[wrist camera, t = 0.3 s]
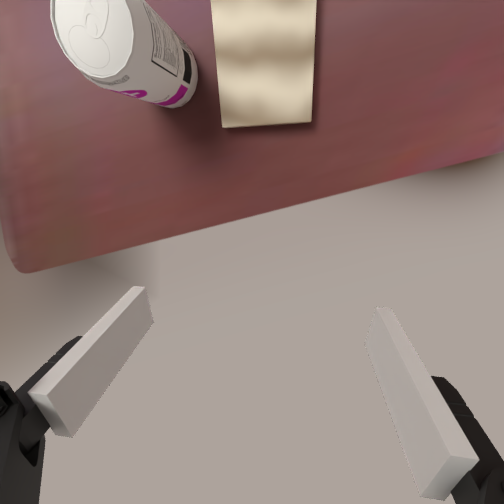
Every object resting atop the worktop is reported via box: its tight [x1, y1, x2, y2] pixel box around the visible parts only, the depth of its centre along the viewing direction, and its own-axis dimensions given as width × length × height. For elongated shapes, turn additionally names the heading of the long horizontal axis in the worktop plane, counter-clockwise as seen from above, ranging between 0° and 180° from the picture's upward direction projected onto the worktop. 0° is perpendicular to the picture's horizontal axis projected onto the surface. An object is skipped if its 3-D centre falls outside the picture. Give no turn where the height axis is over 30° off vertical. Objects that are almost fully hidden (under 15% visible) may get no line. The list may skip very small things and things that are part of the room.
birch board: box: [211, 0, 317, 128], centre depth 30 cm, size 16×12×2 cm
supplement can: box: [51, 0, 198, 108], centre depth 26 cm, size 8×8×15 cm
